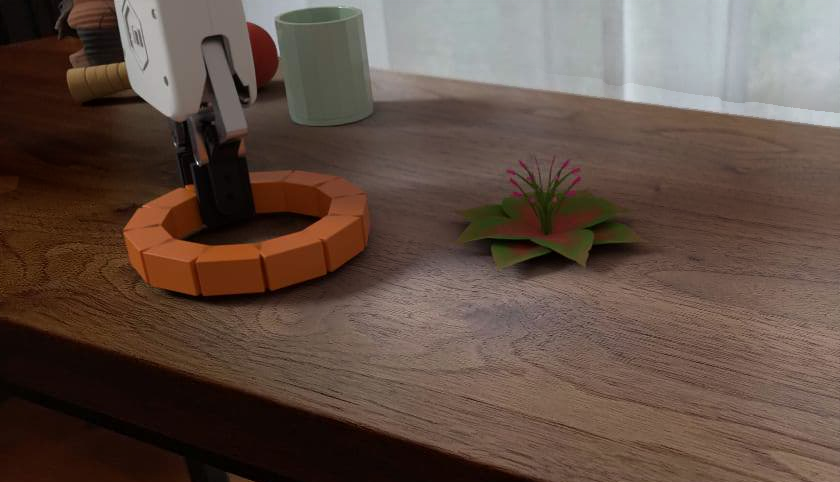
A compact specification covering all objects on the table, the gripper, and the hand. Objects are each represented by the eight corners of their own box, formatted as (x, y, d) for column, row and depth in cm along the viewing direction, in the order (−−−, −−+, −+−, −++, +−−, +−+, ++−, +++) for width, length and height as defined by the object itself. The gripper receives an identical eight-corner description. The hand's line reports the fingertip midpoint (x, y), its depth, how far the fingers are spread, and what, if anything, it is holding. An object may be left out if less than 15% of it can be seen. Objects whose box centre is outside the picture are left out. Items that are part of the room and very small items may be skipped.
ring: (175, 319, 50) (167, 284, 49) (107, 236, 59) (99, 205, 58) (409, 250, 56) (405, 217, 55) (313, 185, 66) (309, 156, 65)
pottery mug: (44, 85, 96) (27, 2, 97) (108, 102, 106) (92, 27, 106) (151, 51, 94) (133, -34, 94) (207, 71, 103) (190, -6, 103)
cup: (310, 131, 78) (294, 28, 74) (278, 113, 83) (261, 15, 79) (388, 114, 81) (376, 14, 78) (352, 97, 86) (339, 2, 83)
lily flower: (601, 186, 65) (600, 118, 63) (686, 257, 55) (688, 178, 53) (422, 217, 61) (414, 146, 59) (478, 298, 51) (471, 216, 49)
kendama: (72, 131, 85) (279, 85, 86) (45, 57, 83) (258, 11, 84) (100, 121, 92) (291, 79, 93) (76, 52, 90) (271, 10, 91)
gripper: (52, -109, 57) (125, 191, 66) (128, -87, 45) (204, 275, 54) (182, -120, 61) (235, 166, 70) (283, -101, 49) (331, 239, 58)
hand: (221, 211), depth 62 cm, fingers closed on ring, 2 cm apart
